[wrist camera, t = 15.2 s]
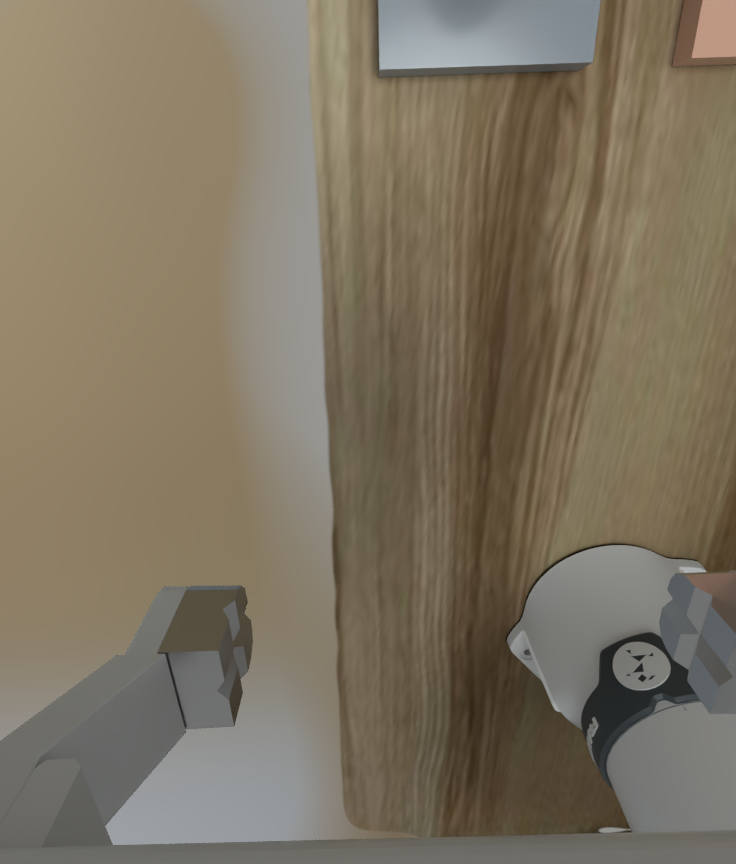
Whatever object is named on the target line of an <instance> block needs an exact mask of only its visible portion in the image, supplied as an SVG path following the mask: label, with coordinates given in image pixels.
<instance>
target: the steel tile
mask: <svg viewBox="0 0 736 864" xmlns="http://www.w3.org/2000/svg"><path fill="white" fill-rule="evenodd" d="M600 1H601V0H377V11H378V68H379V77H403V76H432V75H461V74H491V73H520V72H549V71H578V70H581V69H582V68H584V67H586V66H587V65H589V64H591V63H592V62H593V56H594V48H595V40H596V32H597V24H598V17H599V9H600Z"/></svg>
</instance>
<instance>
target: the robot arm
mask: <svg viewBox="0 0 736 864" xmlns="http://www.w3.org/2000/svg"><path fill="white" fill-rule="evenodd" d="M246 606H247V597H246V592H245V588H244V587H242V586H190V587H164V588H162V589H161V590H160V591H159V592H158V593H157V595H156V597H155V599H154V601H153V603H152V605H151V607H150V608H149V610H148V612H147V614H146V616H145V618H144V620H143V622H142V624H141V626H140V627H139V629H138V631H137V633H136V635H135V637H134V639H133V641H132V643H131V644H130V646H129V648H128V650H127V652H126V654H125V655H116V656H115V657H114V658H112V659H111V660H109V661H108V662H107V663H105V664H104V665H103V666H101V667H100V668H99V669H97V670H96V671H94V672H93V673H92V674H90V675H89V676H88V677H86V678H85V679H84V680H83V681H81V682H79V683H78V684H77V685H76V686H74V687H73V688H71V689H70V690H69V691H68V692H66V693H65V694H63V695H62V696H60V697H59V698H58V699H56V700H55V701H54V702H52V703H51V704H50V705H48V706H47V707H46V708H44V709H43V710H41V711H40V712H39V713H37V714H36V715H35V716H33V717H32V718H31V719H29V720H28V721H27V722H25V723H24V724H23V725H21V726H20V727H18V728H17V729H16V730H14V731H13V732H12V733H10V734H9V735H8V736H6V737H5V738H4V739H2V740H1V741H0V864H736V571H729V572H706V570H705V569H704V567H703V566H702V565H701V563H699V562H697V561H693V560H684V559H669V558H665V557H663V556H660V555H658V554H656V553H654V552H652V551H649V550H647V549H643V548H639V547H635V546H627V545H610V546H602V547H597V548H592V549H589V550H585V551H582V552H580V553H577V554H575V555H572V556H570V557H568V558H566V559H565V560H563V561H561V562H560V563H558V564H557V565H555V566H554V567H552V568H551V569H550V570H549V571H548V572H546V573H545V574H544V575H543V576H542V577H541V578H540V580H539V581H538V582H537V583H536V585H535V586H534V587H533V589H532V591H531V593H530V594H529V597H528V599H527V602H526V605H525V609H524V613H523V616H522V618H521V620H520V622H519V623H518V624H517V625H516V626H515V627H514V629H513V630H512V631H511V632H510V634H509V636H508V638H507V643H508V645H509V648H510V650H511V652H512V653H513V654H514V655H515V656H516V657H517V658H518V659H519V660H520V661H521V662H522V663H523V664H524V665H526V666H527V667H528V668H529V669H530V670H531V671H532V672H533V673H534V674H535V675H536V676H537V677H538V678H539V679H540V680H541V681H542V682H543V685H544V687H545V689H546V692H547V694H548V697H549V699H550V701H551V704H552V706H553V707H554V709H555V710H556V711H557V712H561V713H562V714H563V715H564V716H565V718H566V719H568V720H569V721H570V722H571V723H573V724H574V725H575V726H577V727H578V728H580V729H581V730H582V731H583V734H584V736H585V739H586V741H587V746H588V749H589V752H590V754H591V757H592V759H593V761H594V762H595V764H596V766H597V768H598V769H599V771H600V773H601V775H602V777H603V779H604V781H605V782H606V783H607V784H608V786H609V787H611V788H612V789H613V790H614V791H615V794H616V796H617V798H618V801H619V803H620V805H621V808H622V810H623V812H624V815H625V817H626V819H627V822H628V824H629V827H630V829H631V831H632V833H593V834H554V835H514V836H473V837H431V838H390V839H348V840H305V841H265V842H227V843H226V842H225V843H184V844H150V845H149V844H147V845H113V844H112V842H111V839H110V837H109V835H108V832H107V830H106V827H105V825H106V824H107V823H108V822H109V821H110V820H111V818H112V817H113V816H114V815H115V814H116V812H118V810H119V809H120V808H121V807H122V806H123V805H124V803H125V802H126V801H127V800H128V799H129V797H131V795H132V794H133V793H134V792H135V791H136V790H137V788H138V787H139V786H140V785H141V784H142V782H143V781H144V780H145V779H146V778H147V777H148V775H149V774H150V773H151V772H152V771H153V770H154V769H155V768H156V766H157V765H158V764H159V763H160V762H161V760H162V759H163V758H164V757H165V756H166V755H167V754H168V752H169V751H170V750H171V749H172V748H173V747H174V746H175V744H176V743H177V742H178V741H179V740H180V738H181V737H182V736H183V735H184V734H185V733H186V730H185V729H196V728H215V727H232V726H234V725H235V721H236V717H237V713H238V709H239V705H240V701H241V697H242V693H243V692H242V686H241V680H240V679H241V678H242V677H243V676H244V675H245V674H246V673H247V672H248V669H249V664H250V660H251V653H252V643H253V642H252V641H253V640H252V626H251V620H250V619H249V618H248V617H247V616H246V615H245V614H244V613H245V609H246Z"/></svg>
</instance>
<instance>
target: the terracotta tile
mask: <svg viewBox="0 0 736 864" xmlns="http://www.w3.org/2000/svg"><path fill="white" fill-rule="evenodd" d="M732 64H736V0H684V3H683V9H682V14H681V20H680V25H679V31H678V36H677V42H676V47H675V53H674V59H673V64H672V67H674V66H703V65H732Z"/></svg>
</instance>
